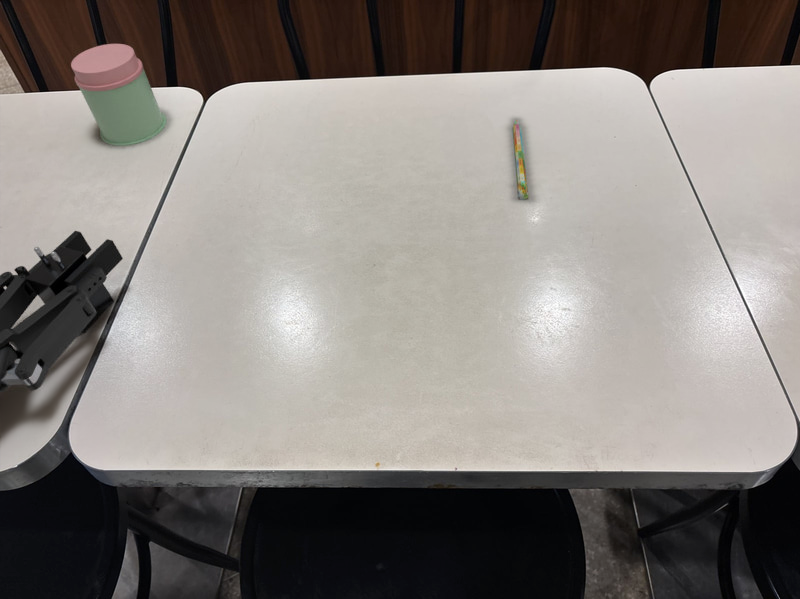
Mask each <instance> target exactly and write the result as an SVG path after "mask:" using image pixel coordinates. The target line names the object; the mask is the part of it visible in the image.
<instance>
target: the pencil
mask: <svg viewBox="0 0 800 599" xmlns="http://www.w3.org/2000/svg"><path fill="white" fill-rule="evenodd" d="M512 135H513V146H514V155H515V156H514V157H515V168H516V169H515V170H516V179H517V193H518V198H519V199H520V200H523V201H524V200H527V199H528V198H529V196H530V195H529V189H528V181H527V172H526V162H525V152H524V143H523V142H524V141H523V134H522V126H521V125H520V122H519V121H518V119H517V118H515V120H514V124H513V126H512Z"/></svg>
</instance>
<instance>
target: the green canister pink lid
mask: <svg viewBox="0 0 800 599" xmlns="http://www.w3.org/2000/svg"><path fill="white" fill-rule="evenodd" d="M70 67H71V69H72V71H73V74H74V82H75V84H76V86H77V87H78V88H79V90H80V92H81V94H82V96H83V98H84V101H85V103H86V104H87V106H88V108H89V110H90V112H91V114H92V117H93V118H94V120H95V122H96V124H97V126H98V128H99V130H100V131H99V135H100V138H101V140H102V141H103V142H104V143H105V144H108V145H110V146H114V147H115V146H117V147H127V146H134V145H138V144H141V143H144V142H148V141H149V140H151V139H152V138H153V139H154V137H157V136H158V135H159V134H160V133H161V132H162V131H163V130H164V129H165V128H166V125H167V123H168V120H167V119H168V118H167V117H166V115H165V114H164V113H163V112H162V111H161V108H160V107H159V103H158V101H157V98H156V96H155V94H154V92H153V89H152V86H151V83H150V82H149V79H148V77H147V74H146V72H145V69H144V65H143V62H142V60H140V58H138V57H137V55H136V52H135V50H134V48H133V47H132V46H130V45H127V44H123V43H108V44H101V45H97V46H95V47H94V46H93V47H91V48H89V49H86V50H84V51H82V52H80V53H78V55H76V56H75V57H73V59H72V60H71V62H70Z"/></svg>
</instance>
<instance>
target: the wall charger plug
mask: <svg viewBox="0 0 800 599" xmlns="http://www.w3.org/2000/svg"><path fill="white" fill-rule="evenodd" d="M33 251H34V252H35V254H36V255H37V256H38V258H39V259H40V260H42V262H43V263H42V264H40V265H39V266H38V267H37V268H36V269H35V270H34V271H33V272H32V273H31V274H30V275H29V276H27V277H26V280H27V282H28V283H29V284H30V285H31V287H32V288H33V289H34V291H35V292H36V293H37V294H38V295H37V297H38V298H40V300H41V301H42V302H43V304H45V303H47V302H48V301H49V300H51V299H52V298H53V297H55V296H56V295H57V294H59V293H60V292H61V291H62V290H64V289H65V288H66V287H68V286H67V284H66V283H65V280H66V279H67V278H68V277H69V276H70V275H71V274H72V273H73V272H74V271H75V270H76V269H77V268H78V267H79V266H80V265H81V264H82V263H83V262H84V261H85V260H86V259H87V258H88V256H87V255H86V256H85V254H84V253H83V252H79V251H76V250H72V249H69V248H65V247H61V246H60V247H59V248H58V249H57V250H56V251H55V252H53V251H51V252H50V253H51V255H50V256H49V257H48V258H46V257H45V256H46V254H44V252H43V251H42V250H41V248H40V247H39V246H35V247H34V248H33ZM88 300H89V301H90V303H91V304H92V306H93V307H94V309H95V310H96V312H97V313H96V315H95V316H94V317H93V319H92V320H91V321H90V322H89V323H88V324H87V326H86V327H85V328H84V329H83V330H82V331H81V333H80V334H86V333H87V331H89V330H90V329H91V328H92V326H94V324H95V323H96V322H97V321H98V320H99V319H100V318H101V317H102V315H103V314H105V312H106V311H107V310H108V309H109V308H110V307H111V306H112V304H114V302H115V300H114V298H113V296H112V295H111V293H110V292H109V290H108V289H107V287H106V285H105V284H104V283H103V284H101V286H100V287H99V288H98V289H97V290H96V291H95V292H94V293H93V294H92V295H91V296H90V297H89V299H88ZM70 302H71V301H69V303H70Z"/></svg>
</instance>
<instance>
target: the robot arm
mask: <svg viewBox="0 0 800 599" xmlns="http://www.w3.org/2000/svg"><path fill="white" fill-rule="evenodd" d="M60 246H61V247H65V248H69V249H72V250H76V251H79V252H83V253H84V254H85V256H86V257H87V259H86V260H85V261H84V262H83V263H82V264H81V265H80V266H79V267H78V268H77V269H76V270H75V271H74V272H73V273H72V274H71V275H70V276H69V277H68V278H67V279H66V280H65V283H66V284H67V286H68V287H66V288H65V289H64V290H62V291H61V292H60V293H59V294H57V295H56V296H55V297H53V298H52V299H51V300H49V301H48V302H47V303H43V304H42V306H40V307H39V308H37V309H36V310H35V311H34V312H32V313H31V314H30V315H28V316H27V317H25V319H23V320H22V321H20V322H19V323H18V324H17V325H16V323H17V322H18V320H19V319H20V318H21V317H22V316H23V314H24V313H25V312H26V310H27V309H28V308H29V306H31V304H32V303H33V302H34V300H35V299H36V298H37V297H38V294H37V293H36V292H35V291H34V289H33V288H32V287H31V285H30V284H29V283H28V282H27V280H26V277H27V276H29V275H30V274H31V273H32V272H33V271H34V270H35V269H36V268H37V267H38V266H39V265H40V264H42V263H43V262H42V260H41V259H40V260H39V261H37V263H36V264H34V265H33V266H32V267H31V268H30V269H27V268H26V267H25V266H24V265H20V266H16V267H15V268H14V272H15V273H16V274H13V273H12V272H11V271H5V272H3V273H1V274H0V394H1V393H3V392H5V391H7V390H8V389H9V388H10V387H11V386H20V385H21V386H22V385H25V386H26V387H27V388H28V389H29V390H30V391H35V390H38V389H39V388H41V386H42V385H43V384H44V381H45V379H46V377H47V374H48V372H49V370H50V368H51V367H52V366H53V365H55V363H56V361H57V360H58V359H59V358H60V357H61V356H62V355H63V353H64V352H65V351H66V350H67V349H68V348H69V347H70V345H72V343H73V342H74V341H75V340H76V338H78V336H79V335H80V334H82V333H81V331H82V330H83V329H84V328H85V327H86V326H87V324H88V323H89V322H90V321H91V320H92V319H93V317H94V316H95V315H96V313H97V312H96V310H95V309H94V307H93V306H92V304H91V303H90V301H89V300H88V299H89V297H90V296H91V295H92V294H93V293H94V292H95V291H96V290H97V289H98V288H99V287H100V286H101V284H104V283H105V282H106V280H107V277H108V275H109V274H110V272H112V271H113V270H114V269H115V267H117V266H118V265H119V263H121V262H122V261H123V259H124V258H123V256H122V254H121V253H120V251H119V249H118V247H117V246H116V244H115V242H114V240H112V239H108V238H107V239H105V240H104V241H103V243H101V244H100V245H99V246H98V247H97V248H96V249H95V250H94V251H93V252H91V251H92V248H91V246H90V244H89V243H88V241H87V240H86V238H85V237H84V235H83V233H82V231H78V230H74V231H73V232H72V233H71V234H70V235H69V236H67V237H66V239H64V240H63V241H62V242H61V243H60V244H59V245H58V246H57V247H56V248H54V249H53V251H52V252H55V251H56V250H57V249H58V248H59V247H60ZM90 252H91V254H90ZM88 254H90V255H89V256H87V255H88ZM50 255H51V252H49V253H48V254H45V257H46V258H48V257H49V256H50ZM69 301H71V302H70V303H69Z"/></svg>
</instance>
